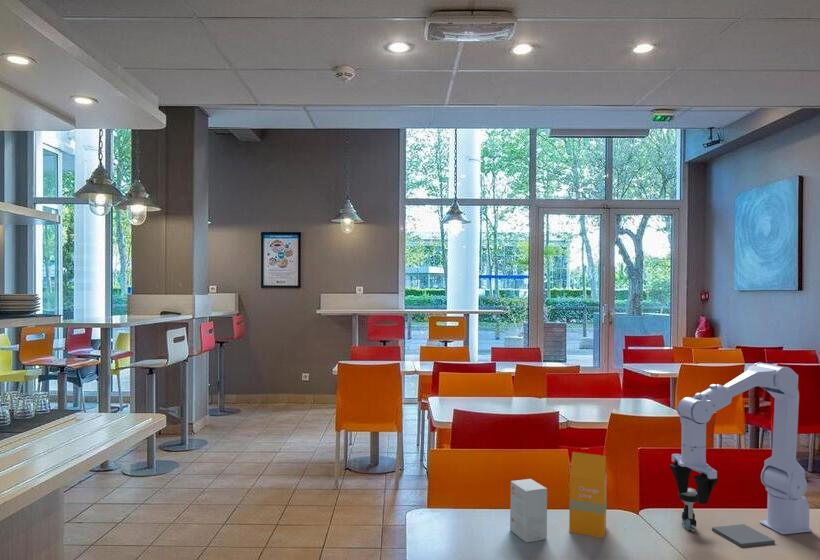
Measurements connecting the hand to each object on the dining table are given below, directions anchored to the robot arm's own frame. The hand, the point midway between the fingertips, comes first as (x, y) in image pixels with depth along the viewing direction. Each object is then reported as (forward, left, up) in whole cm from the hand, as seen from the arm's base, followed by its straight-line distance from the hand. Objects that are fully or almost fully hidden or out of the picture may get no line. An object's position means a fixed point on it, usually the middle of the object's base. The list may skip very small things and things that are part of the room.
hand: (692, 497), depth 154 cm
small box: (+41, -10, -10) cm, 43 cm away
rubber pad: (-13, +2, -10) cm, 17 cm away
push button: (-3, -5, -10) cm, 12 cm away
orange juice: (+24, -10, -10) cm, 28 cm away
